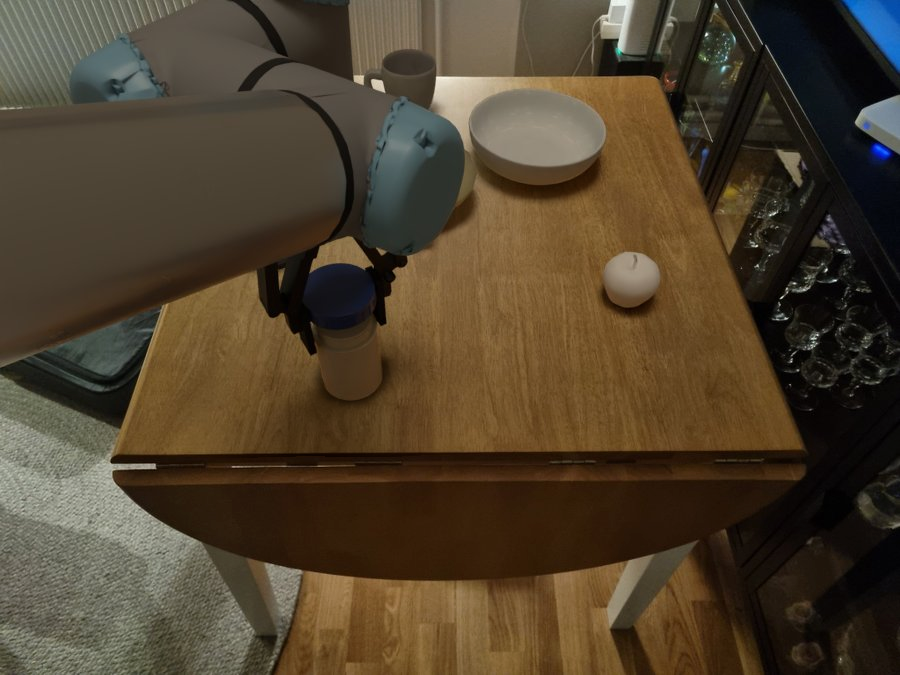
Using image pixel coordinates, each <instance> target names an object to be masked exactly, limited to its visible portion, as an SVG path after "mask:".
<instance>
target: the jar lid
mask: <svg viewBox="0 0 900 675" xmlns="http://www.w3.org/2000/svg"><path fill="white" fill-rule="evenodd" d="M376 302H377V297H376V289H375V284H374V281H373V279H372V277H371V276H370V274H369V273H368V272H367V271H365V268H363V267H360V266H358V265H355V264H353V263H352V264H351V263H347V262H335V263H329V264H325V265H321V266H319V267H318V268H316V269H314V270H312V271H310V273H309V277H308V281H307V284H306V288H305V292H304V295H303V299H302V303H303V304H304V306H305V307H306V309H307V311H308V314H309V318H310V323H311V324H312V325H313V324H315V325H317V326H318V327H321V328H324V329H330V330H343V329H348V328H352V327H354V326H357V325H359V324H361V323H362V322H364V321H365V320H366V319H367V318H368V317H369V316H370V315H371V314H372V312H373V310H374V309H375V305H376Z"/></svg>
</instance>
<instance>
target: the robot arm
mask: <svg viewBox="0 0 900 675" xmlns="http://www.w3.org/2000/svg"><path fill="white" fill-rule="evenodd" d="M350 4H351V0H197V1H195V2H192V3H191V4H188V5H186V6H184V7H182V8H180V9H177V10H175V11H173V12H170V13H169V14H166V15H165V16H162V17H160V18H158V19H156V20H153V21H151V22H149V23H147V24H145V25H142V26H140V27H138V28H136V29H133V30H132V31H129V32H127V33H126V32H125V33H123V32H121V33H119V34H117V35H116V38H115V39H113V41H111V42H109V43H107V44H106V45H105V44H104V46H102V47H100V48H98V49H97V50H95V51H93V52H92V53H90V54H88V55H87V56H85V57H83V58H81V59H79V61H77V63H75V65H74V66H72V70H71V72H70V75H69V76H70V77H69V82H68V83H69V85H68V87H69V88H68V89H69V95H70V99H71V102H72V104H62V105H61V104H60V105H47V106H34V107H21V108H9V109H0V368H2V367H6V366H9V365H10V364H13V363H16V362H19V361H21V360H24V359H26V358H29V357H32V356H34V355H37V354H40V353H42V352H45V351H47V350H51V349H53V348H55V347H58V346H60V345H64V344H66V343H69V342H71V341H73V340H76V339H79V338H81V337H84V336H87V335H89V334H92V333H94V332H97V331H100V330H102V329H105V328H107V327H111V326H113V325H115V324H116V325H117V323H120V322H123V321H126V320H129V319H131V318H135V317H136V316H139V315H142V314H144V313H147V312H149V311H153V310H155V309H157V308H160V307H163V306H165V305H168V304H170V303H173V302H176V301H178V300H181V299H183V298H187V297H189V296H191V295H194V294H196V293H199V292H201V291H204V290H207V289H209V288H213V287H215V286H217V285H220V284H223V283H226V282H227V281H231V280H233V279H236V278H238V277H241V276H243V275H247V274H249V273H253V272H254V271H256V280H257V289H258V299H259V302H260V303H261V305H262V307H263V309H264V310H265V312H266V314H267V316H268V317H269V318H270V319H275V318H278V317H279V316H280V315H281V314H283V316H284V320H285V323H286V325H287V327H288V328H289V330H290V333H292V334H293V335H297V334H298V335H299V338H300V341H301V343H302V344H303V346H304V348H305V350H306V351H307V352H308V354H309V356H310V357H312V356H314V355H317V350H316V346H315V341H314V336H313V332H312V322H310V318H309V314H308V311H307V309H306V307H305V306H304V304H303V303H302V299H303V295H304V292H305V288H306V284H307V281H308V277H309V274H310V273H311V270H312V266H313V262H314V260H316V259H317V258H318V255H319V251H320V248H321V247H323V246H325V245H327V244H330V243H332V242H335V241H338V240H342V239H345V238H352V239H353V240H354V242H355V243H356V245H357V246H358V247H359V248H360V250H361V251H362V252H363V254H364V255H365V256H366V257H367V259H368V261H369V262H370V263H371V264H372V265H369V266H366V267H364V270H365V271H367V272H368V273H369V274H370V276H371V277H372V279H373V281H374V284H375V289H376V297H377V302H376V305H375V309H374V310H373V312H372V313H373V314H374V315H375V317H376V320H377V324H378V326H380V327H383V326H385V325H387V323H388V322H387V309H386V308H387V307H386V298H387V297H390V296H391V295H392V293H393V291H392V290H393V288H392V283H394V282H395V280H396V279H397V275H396V274H395V273H394V270H396V269H397V268H399V269H402V268H404V267H406V266H407V265H408V263H409V260H408V256H413V255H416V254H418V253H419V252H422V251H423V250H425V249H426V248H427V247H429V245H431V243H433V242H434V241H435V239H437V237H438V236H439V235H440V234H441V232H442V231H443V229H444V228H445V226H446V225H447V223H448V221H449V219H450V217H451V215H452V213H453V211H454V209H455V208H456V207H455V205H456V202H457V199H458V196H459V192H460V188H461V184H462V180H463V175H464V168H465V151H464V149H465V145H464V142H463V138H462V135H461V133H460V131H459V130H458V128H457V127H456V125H454V124H453V122H451V121H450V120H449V119H448V118H446V117H444V116H441V115H440V114H438V113H435V112H434V111H431V110H430V109H429V110H427V109H425V108H423V107H421V106H419V105H417V104H415V103H413V102H411V101H410V100H409V99H408V98H407V97H404V96H400V97H399V98H398V97H395V96H392V95H390V94H387V93H385V91H381V90H379V89H376V88H374V87H373V88H370V87H367V86H364V84H361V83H359V82H356V81H355V77H354V75H355V74H354V64H353V62H354V61H353V51H352V38H351V24H350V10H349V5H350ZM454 207H455V208H454ZM378 249H379V250H381V251H384V252H385V253H383V254H381V252H380V251H379V250H378ZM286 258H287V262H286V266H285V267H284V270H283V274H282V278H281V283H280V279H279V278H280V277H279V275H280V274H279V269H278V261H280V260H283V259H286Z"/></svg>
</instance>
